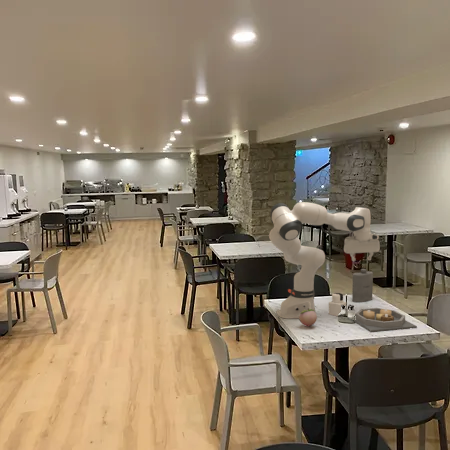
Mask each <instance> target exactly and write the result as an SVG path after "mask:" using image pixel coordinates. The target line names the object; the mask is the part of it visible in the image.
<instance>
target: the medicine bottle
mask: <svg viewBox="0 0 450 450" xmlns="http://www.w3.org/2000/svg"><path fill="white" fill-rule="evenodd" d="M341 305H344V306H346V307H347V301H344V294H342V293H340V292H334V293H332V295H331V301H329V302H328V315H330V316H335V317H338V314H339V313H340V312H341Z"/></svg>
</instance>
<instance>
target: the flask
mask: <svg viewBox="0 0 450 450" xmlns="http://www.w3.org/2000/svg"><path fill="white" fill-rule="evenodd" d="M373 279H374V273H373V271H370V270H369V271H368V270H367V269H366V268H361V269H360V272H353V273H352V290H351V291H352V292H351V293H352V294H351V297H352V299H351V301H352V302H353V303H365V302H369V301H372V300H373V290H374V289H373V288H374V287H373V283H374V282H373V281H374V280H373Z"/></svg>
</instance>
